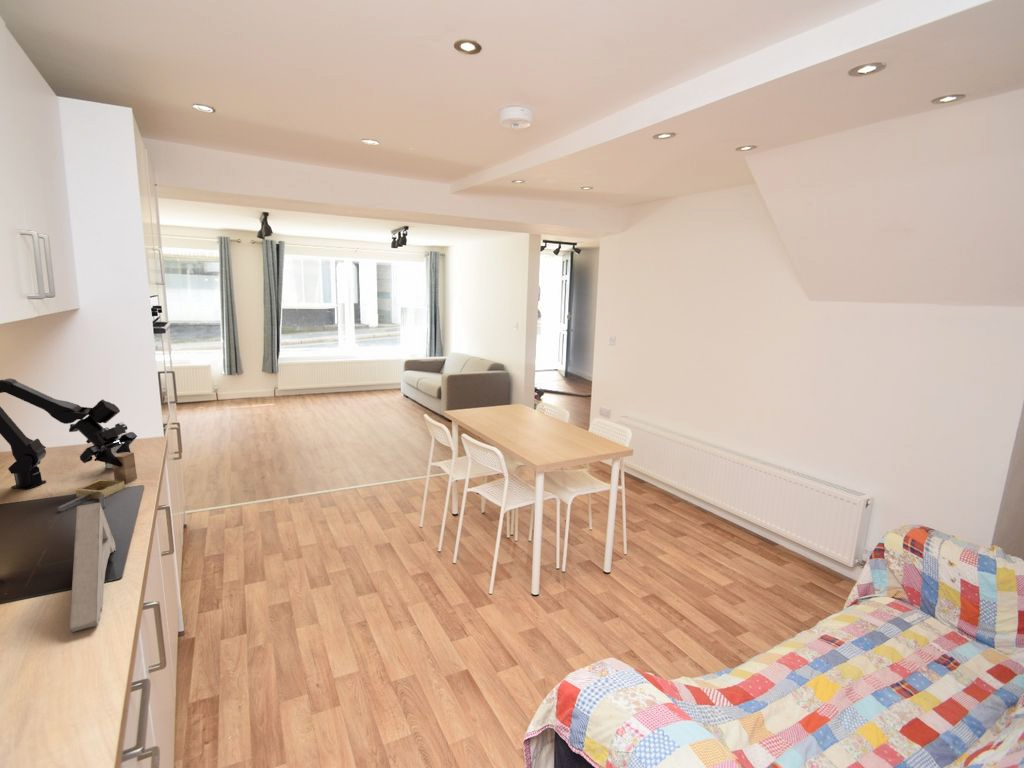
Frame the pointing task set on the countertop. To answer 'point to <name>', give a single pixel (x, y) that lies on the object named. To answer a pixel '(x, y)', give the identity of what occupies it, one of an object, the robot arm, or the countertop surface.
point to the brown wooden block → (125, 467)
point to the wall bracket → (89, 565)
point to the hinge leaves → (94, 492)
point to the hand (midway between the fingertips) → (127, 463)
